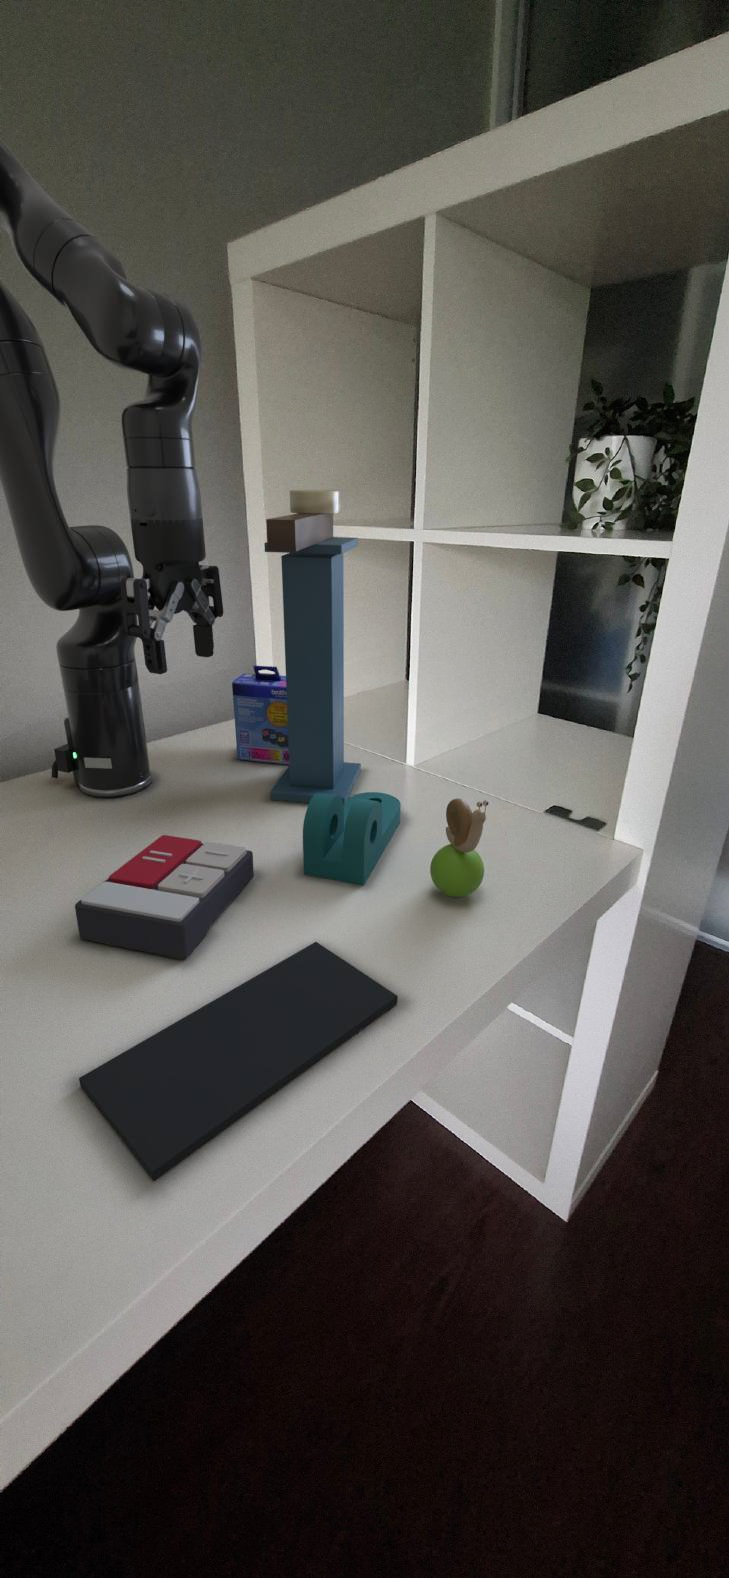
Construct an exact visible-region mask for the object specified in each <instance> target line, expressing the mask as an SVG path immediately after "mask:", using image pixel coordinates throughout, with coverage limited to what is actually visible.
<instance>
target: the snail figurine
mask: <svg viewBox="0 0 729 1578" xmlns="http://www.w3.org/2000/svg"><path fill="white" fill-rule="evenodd" d="M476 806H477V809H475V810H474V811H472V809H471V807H470V805H469V804H468V803H467V802H466V801H465V800H463V799H462V798H453V799H451V800H450V801H449V802H448V803H447V806H446V810H445V818H446V823H447V826H445V834H446V839H447V840H448V842H449V844H446V845H444V846H442V847H441V848H440V849H438V850H437V852H435V854H434V855H433V857H432V858H431V859H432V860H431V861H430V866H429V867H430V868H429V873H430V878H431V880H432V881H431V882H432V883H433V884H434V886H435V887H436V889H437V890H439V892H441V893H443V894H444V895H447V896H448V897H454V898H462V897H466V896H469V895H471V894H473V893H474V892H476V890H478V889H479V887H480V886H481V884H482V882H483V879H484V876H485V865H484V861H483V859H482V857H481V855H480V854H479V852H477V850H475V849H476V848H477V847H478V845H479V843H480V840H481V837H482V834H483V829H484V824H485V822H486V819H487V815H486V811H487V810H486V809H487V806H489V800H486V799H485V800H483V801H481V800H480V801H477V802H476ZM483 806H484V810H482V809H481V808H482V807H483Z"/></svg>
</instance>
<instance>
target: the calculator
mask: <svg viewBox="0 0 729 1578" xmlns="http://www.w3.org/2000/svg"><path fill="white" fill-rule="evenodd" d="M254 873H255V872H254V853H253V851H251V850H248V849H247V847H244V846H240V845H239V846H238V845H231V844H226V843H219V842H213V841H206V842H205V843H203V842H202V841H201V840H200V839H193V838H187V837H182V836H181V837H180V836H173V835H169V834H162V835H160V836H159V837H158V838H156V840H154V841H152V842H151V843H150V844H149V845H147V846H146V847H145V848H143V849H142V850H141V851H139V852H138V853H137V854H136V855H134V856H133V857H132V858H130V859H129V860H128V861H126V862H125V863H124V864H122V866H120V867H119V868H117V869H116V870H115V871H113V872H112V873H111V874H110V875H109V876H108V878H107V879H105V880H104V881H102V883H100V884H99V885H98V886H96V887H95V888H94V889H93V890H91V891H90V892H89V893H87V894H86V895H84V897H81V899H80V900H78V901H76V902H75V904H74V909H75V916H76V923H77V929H78V930H77V931H78V937H79V938H80V939H82V940H87V941H92V942H97V943H102V944H106V945H110V946H116V947H121V948H126V949H130V950H136V951H140V952H145V953H150V954H156V955H161V956H164V957H165V956H166V957H171V958H175V959H182V960H184V959H187V957H189V956H190V955H191V953H192V952H193V951H194V950H195V949H196V948H197V947H198V945H199V944H200V943H201V942H202V940H203V939H205V937H206V935H207V933H208V930H209V928H210V926H211V925H212V923H213V922H215V920H216V919H217V918H218V917H219V915H221V913H223V911H224V910H225V909H226V908H227V907H228V906H229V905H230V904H231V903H232V901H233V900H234V899H235V898H236V897H237V896H238V895H239V893H240V892H241V891H242V890H243V889H244V887H246V885H247V884H248V883H249V882H250V881H251V880H252V879H253V878H254Z"/></svg>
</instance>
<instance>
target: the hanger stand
mask: <svg viewBox="0 0 729 1578" xmlns="http://www.w3.org/2000/svg"><path fill="white" fill-rule="evenodd" d="M358 540H359V539H358V537H342V536H341V537H340V536H333V538H330V539H328V540H325V541H322V542H320V543H317V544H314V545H312V546H309V547H306V548H304V549H301V550H298V551H296V552H293V551H268V549H267V541H266V542H264V552H265V553H282V554H283V555H281V556H280V557H281V558H280V559H281V579H282V580H281V581H282V583H281V584H282V585H281V586H282V608H283V609H282V610H283V635H284V637H283V639H284V661H285V663H284V664H285V665H284V666H285V676H286V693H287V719H288V746H289V765H288V766H287V768H286V769H285V770H284V772H283V773H282V774H281V776H280V777H279V779H277V782H276V783H275V784H274V786H273V787H272V789H271V790H270V791H269V796H270V797H269V798H270V799H269V800H270V801H280V802H288V803H289V802H290V803H300V804H301V803H302V804H309V802H310V800H311V799H312V797H313V796H314V795H315V794H316V793H323V794H330V795H337V796H340V797H341V799H342V801H343V805H344V804H345V802H346V801H347V800H348V799H349V798H350V796H351V793H352V791H353V788H354V786H355V784H356V782H357V780H358V777H359V776H360V773H361V772H362V763H359V762H346V761H345V707H344V706H345V701H344V700H345V699H344V698H345V689H344V688H345V687H344V686H345V683H344V682H345V681H344V680H345V676H344V675H345V673H344V672H345V667H344V666H345V664H344V660H345V657H344V656H345V655H344V654H345V651H344V650H345V648H344V646H345V643H344V642H345V639H344V638H345V637H344V636H345V633H344V631H345V630H344V629H345V628H344V623H345V622H344V619H345V618H344V611H345V609H344V608H345V607H344V606H345V605H344V600H345V599H344V596H345V595H344V589H345V587H344V554H346V553H347V552H349V551H351V550H352V549H355V548H356V547H358V545H359V544H358ZM284 553H285V554H284Z"/></svg>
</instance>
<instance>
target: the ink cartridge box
mask: <svg viewBox="0 0 729 1578" xmlns="http://www.w3.org/2000/svg"><path fill="white" fill-rule="evenodd" d="M252 667H253V672H254V673H242V674H241V675H240V676H238V677H237V678H235V679H234V680H233V681H232V683H231V689H232V703H233V716H234V730H235V731H234V732H235V744H236V756H237V757H236V758H237V760H239V761H250V762H260V763H268V764H269V763H270V764H280V765H288V766H289V746H288V719H287V693H286V675H281V674H280V672H279V669H278V666H270V665H269V666H268V665H253V666H252ZM260 671H270V672H273V673H269V672H268V673H266V672H260Z"/></svg>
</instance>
